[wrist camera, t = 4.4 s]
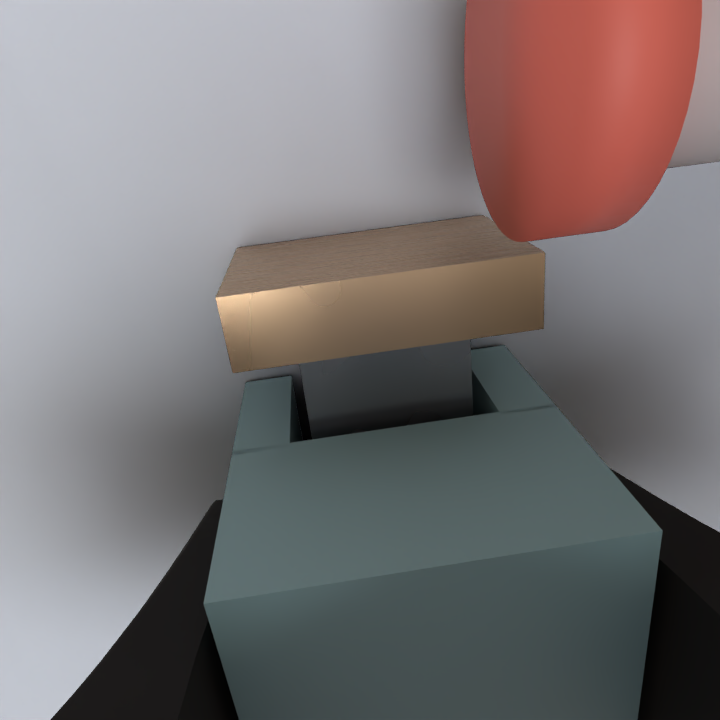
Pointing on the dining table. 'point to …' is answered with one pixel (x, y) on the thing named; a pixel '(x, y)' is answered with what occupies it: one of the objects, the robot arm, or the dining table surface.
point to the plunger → (587, 106)
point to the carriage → (430, 565)
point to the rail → (380, 317)
